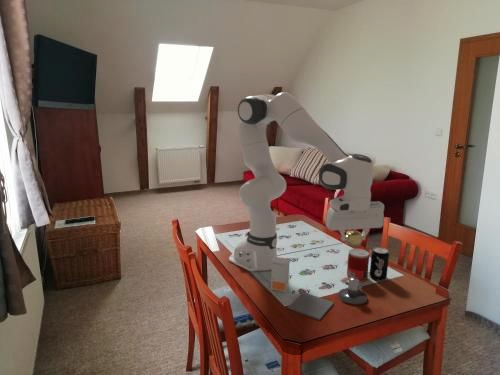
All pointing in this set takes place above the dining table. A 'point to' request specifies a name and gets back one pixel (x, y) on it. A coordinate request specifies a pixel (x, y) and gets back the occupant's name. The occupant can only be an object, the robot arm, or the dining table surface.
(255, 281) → the dining table surface
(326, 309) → the mat
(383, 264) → the beverage can
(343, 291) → the silver metal stand
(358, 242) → the cap
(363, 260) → the canned food
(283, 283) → the skincare box
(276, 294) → the dining table surface
